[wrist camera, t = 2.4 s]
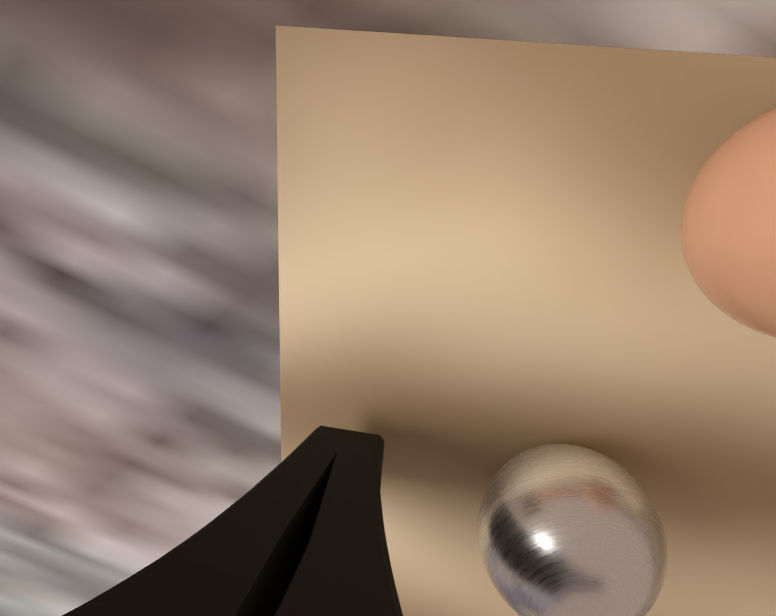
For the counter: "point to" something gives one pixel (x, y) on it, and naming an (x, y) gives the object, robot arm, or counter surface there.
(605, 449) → the board
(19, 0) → the counter surface
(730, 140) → the terracotta ball
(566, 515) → the steel ball
